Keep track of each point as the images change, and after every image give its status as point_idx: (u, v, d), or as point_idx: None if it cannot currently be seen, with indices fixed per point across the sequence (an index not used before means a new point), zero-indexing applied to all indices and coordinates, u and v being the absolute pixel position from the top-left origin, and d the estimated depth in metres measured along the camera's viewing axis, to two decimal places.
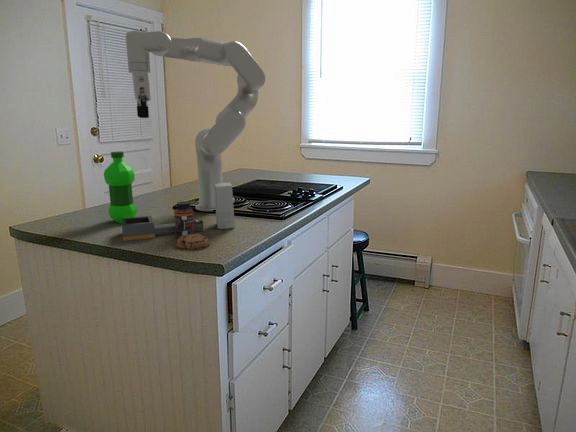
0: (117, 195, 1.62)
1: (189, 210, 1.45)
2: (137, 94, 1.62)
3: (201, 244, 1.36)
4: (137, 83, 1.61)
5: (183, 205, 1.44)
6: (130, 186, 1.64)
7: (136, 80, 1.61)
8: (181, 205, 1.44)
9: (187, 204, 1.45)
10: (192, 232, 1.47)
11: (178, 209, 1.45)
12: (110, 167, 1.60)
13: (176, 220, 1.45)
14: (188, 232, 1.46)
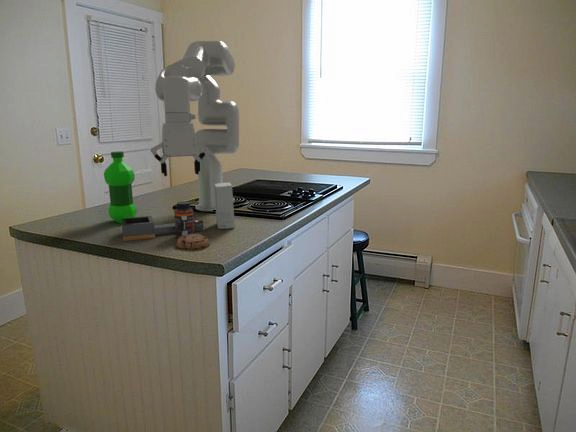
0: (117, 195, 1.62)
1: (189, 210, 1.45)
2: (196, 148, 1.42)
3: (201, 244, 1.36)
4: (195, 136, 1.41)
5: (183, 205, 1.44)
6: (130, 186, 1.64)
7: (194, 133, 1.40)
8: (181, 205, 1.44)
9: (187, 204, 1.45)
10: (192, 232, 1.47)
11: (178, 209, 1.45)
12: (110, 167, 1.60)
13: (176, 220, 1.45)
14: (188, 232, 1.46)
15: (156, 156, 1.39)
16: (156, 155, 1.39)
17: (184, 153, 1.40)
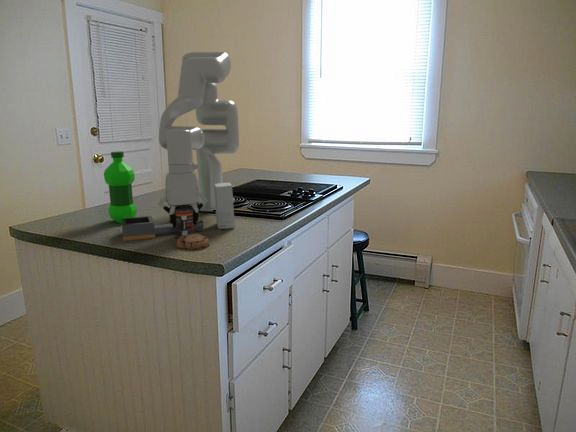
0: (117, 195, 1.62)
1: (189, 210, 1.45)
2: (199, 197, 1.45)
3: (201, 244, 1.36)
4: (198, 185, 1.45)
5: (183, 205, 1.44)
6: (130, 186, 1.64)
7: (197, 182, 1.44)
8: (181, 205, 1.44)
9: None
10: (192, 232, 1.47)
11: (178, 209, 1.45)
12: (110, 167, 1.60)
13: (176, 220, 1.45)
14: (188, 232, 1.46)
15: (165, 208, 1.43)
16: (165, 207, 1.43)
17: (187, 202, 1.44)
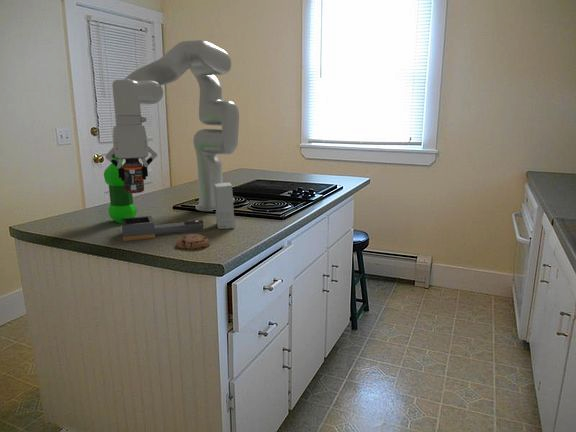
0: (117, 195, 1.62)
1: (137, 164, 1.43)
2: (147, 151, 1.43)
3: (201, 244, 1.36)
4: (146, 138, 1.43)
5: (131, 158, 1.42)
6: None
7: (145, 135, 1.42)
8: (129, 158, 1.42)
9: (135, 158, 1.43)
10: (141, 187, 1.45)
11: (126, 163, 1.43)
12: (110, 167, 1.60)
13: (124, 174, 1.43)
14: (136, 186, 1.44)
15: (113, 161, 1.41)
16: (112, 160, 1.41)
17: (135, 155, 1.42)
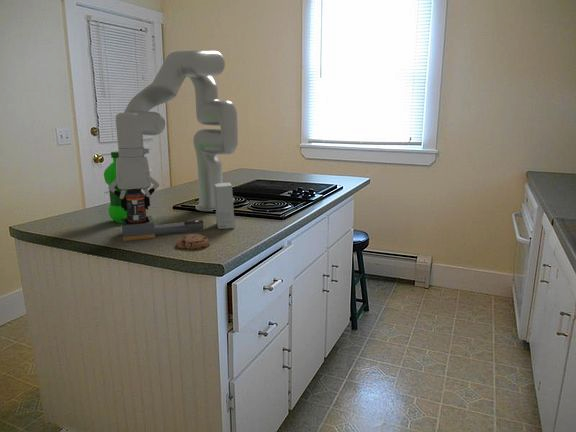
0: None
1: (140, 194, 1.45)
2: (150, 181, 1.46)
3: (201, 244, 1.36)
4: None
5: (133, 189, 1.44)
6: None
7: (148, 166, 1.45)
8: (131, 189, 1.44)
9: None
10: (143, 216, 1.47)
11: (129, 193, 1.45)
12: (110, 167, 1.60)
13: (127, 204, 1.45)
14: (139, 216, 1.46)
15: (115, 192, 1.44)
16: (115, 191, 1.44)
17: (138, 186, 1.44)
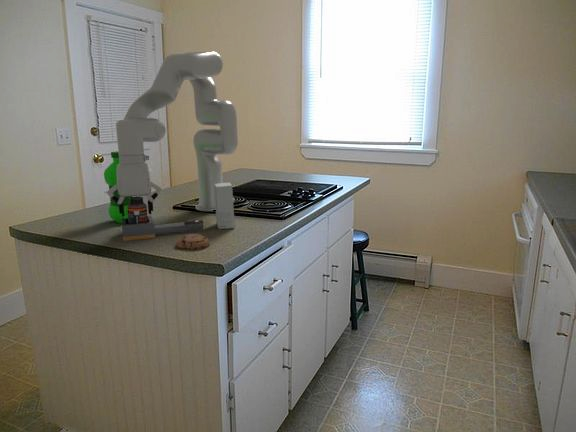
0: (117, 195, 1.62)
1: (142, 205, 1.47)
2: (150, 188, 1.46)
3: (201, 244, 1.36)
4: (149, 176, 1.46)
5: (135, 200, 1.46)
6: None
7: (148, 173, 1.45)
8: (133, 200, 1.45)
9: (140, 199, 1.46)
10: None
11: (131, 204, 1.46)
12: (110, 167, 1.60)
13: (129, 215, 1.46)
14: None
15: (113, 198, 1.44)
16: (113, 197, 1.44)
17: (138, 193, 1.45)
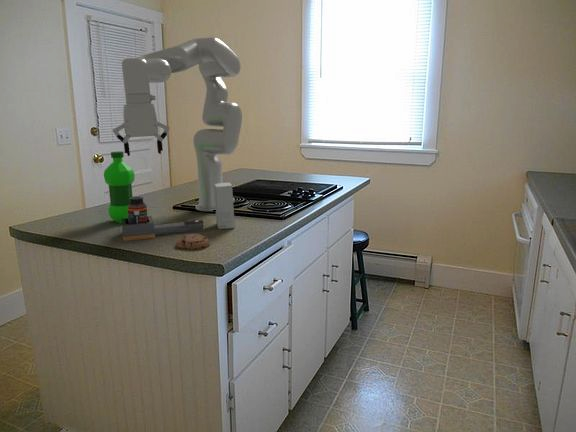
0: (117, 195, 1.62)
1: (142, 205, 1.47)
2: (157, 128, 1.47)
3: (201, 244, 1.36)
4: None
5: (135, 200, 1.46)
6: (130, 186, 1.64)
7: (155, 113, 1.46)
8: (133, 200, 1.45)
9: (140, 199, 1.46)
10: None
11: (131, 204, 1.46)
12: (110, 167, 1.60)
13: (129, 215, 1.46)
14: None
15: (118, 136, 1.44)
16: (118, 135, 1.44)
17: (145, 133, 1.46)
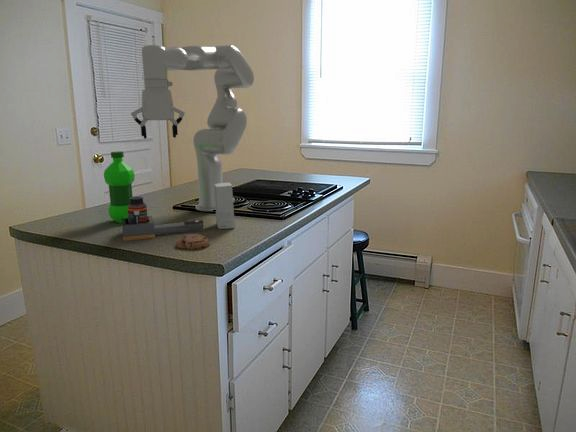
0: (117, 195, 1.62)
1: (142, 205, 1.47)
2: (173, 113, 1.54)
3: (201, 244, 1.36)
4: (172, 101, 1.53)
5: (135, 200, 1.46)
6: (130, 186, 1.64)
7: (171, 98, 1.53)
8: (133, 200, 1.45)
9: (140, 199, 1.46)
10: None
11: (131, 204, 1.46)
12: (110, 167, 1.60)
13: (129, 215, 1.46)
14: None
15: (136, 119, 1.51)
16: (136, 119, 1.51)
17: (162, 117, 1.53)
